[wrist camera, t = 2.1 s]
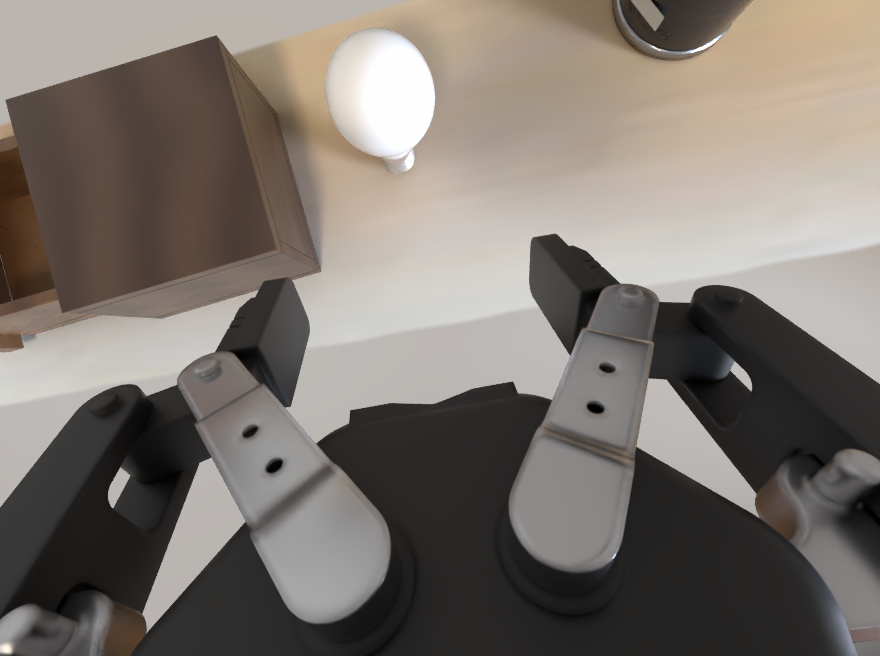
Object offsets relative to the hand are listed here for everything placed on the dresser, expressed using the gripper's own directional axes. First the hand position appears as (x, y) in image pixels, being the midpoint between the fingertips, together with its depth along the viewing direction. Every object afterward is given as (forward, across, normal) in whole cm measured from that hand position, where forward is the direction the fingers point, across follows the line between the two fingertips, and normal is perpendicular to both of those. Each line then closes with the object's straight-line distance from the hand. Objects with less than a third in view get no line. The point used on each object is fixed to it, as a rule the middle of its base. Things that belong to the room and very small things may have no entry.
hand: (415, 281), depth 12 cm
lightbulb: (+21, 0, +1) cm, 21 cm away
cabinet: (+20, +15, +3) cm, 25 cm away
